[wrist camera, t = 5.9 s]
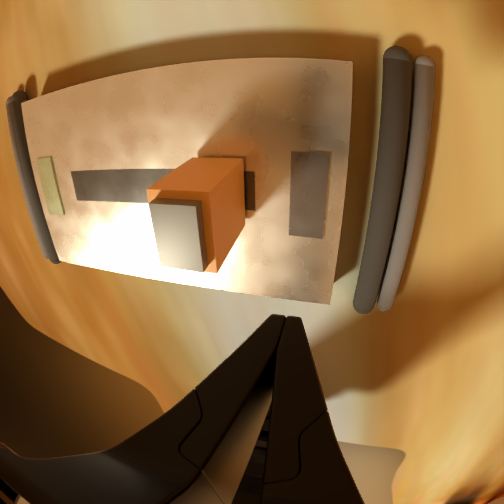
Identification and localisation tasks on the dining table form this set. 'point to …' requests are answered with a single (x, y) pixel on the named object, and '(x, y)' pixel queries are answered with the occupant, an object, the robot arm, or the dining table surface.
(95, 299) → the dining table surface
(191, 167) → the block
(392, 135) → the cord
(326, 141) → the faceplate
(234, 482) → the robot arm
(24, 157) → the cord
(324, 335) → the dining table surface
